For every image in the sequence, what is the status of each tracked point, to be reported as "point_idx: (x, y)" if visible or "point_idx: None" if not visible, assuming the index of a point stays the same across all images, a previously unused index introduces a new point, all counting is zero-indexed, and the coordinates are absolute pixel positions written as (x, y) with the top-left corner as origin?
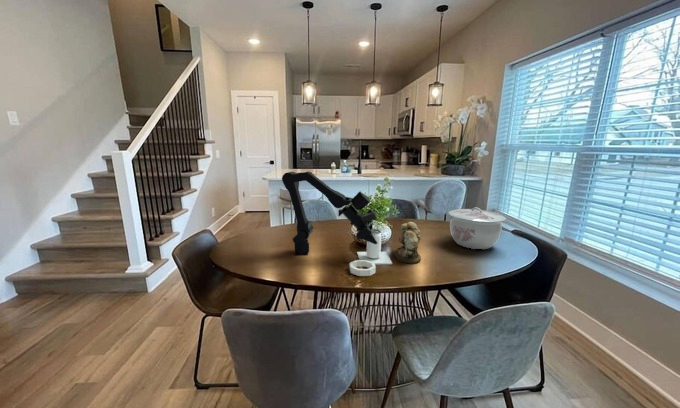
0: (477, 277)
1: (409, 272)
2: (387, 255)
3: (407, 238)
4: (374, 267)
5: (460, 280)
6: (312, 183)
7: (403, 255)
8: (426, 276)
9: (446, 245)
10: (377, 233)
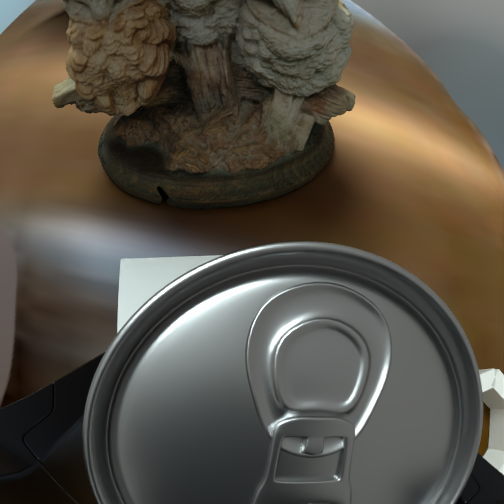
0: (386, 30)
1: (435, 185)
2: (206, 259)
3: (329, 18)
4: (502, 374)
5: (426, 67)
6: None
7: (291, 146)
8: (444, 136)
9: None
10: (474, 359)
